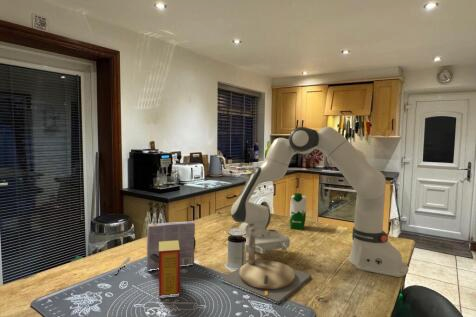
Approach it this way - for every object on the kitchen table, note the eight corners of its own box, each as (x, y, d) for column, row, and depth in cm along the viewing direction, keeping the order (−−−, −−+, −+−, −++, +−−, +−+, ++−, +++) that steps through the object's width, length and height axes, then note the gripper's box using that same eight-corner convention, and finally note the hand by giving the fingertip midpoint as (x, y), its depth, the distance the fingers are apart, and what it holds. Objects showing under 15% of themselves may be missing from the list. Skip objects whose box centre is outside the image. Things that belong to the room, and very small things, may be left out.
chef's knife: (136, 256, 135) (129, 256, 134) (136, 254, 134) (129, 253, 134) (121, 276, 116) (113, 276, 115) (121, 273, 115) (113, 273, 115)
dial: (289, 264, 124) (290, 226, 123) (299, 289, 104) (300, 244, 103) (239, 263, 124) (240, 225, 123) (239, 288, 104) (240, 243, 103)
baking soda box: (159, 284, 109) (159, 240, 107) (178, 283, 110) (178, 239, 109) (159, 299, 100) (158, 250, 98) (179, 296, 101) (179, 248, 100)
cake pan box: (194, 261, 130) (194, 219, 128) (197, 265, 125) (197, 222, 123) (146, 267, 123) (146, 223, 121) (147, 272, 118) (147, 227, 116)
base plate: (311, 277, 116) (311, 274, 116) (278, 304, 97) (278, 300, 97) (258, 260, 131) (258, 257, 131) (220, 281, 112) (220, 277, 112)
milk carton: (288, 229, 175) (289, 193, 173) (290, 224, 184) (291, 191, 182) (304, 230, 172) (305, 195, 171) (305, 226, 181) (306, 192, 180)
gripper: (237, 234, 131) (250, 245, 118) (280, 229, 138) (296, 239, 125) (237, 249, 131) (250, 261, 118) (279, 243, 138) (296, 254, 126)
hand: (274, 250), depth 122 cm, fingers open, 8 cm apart
